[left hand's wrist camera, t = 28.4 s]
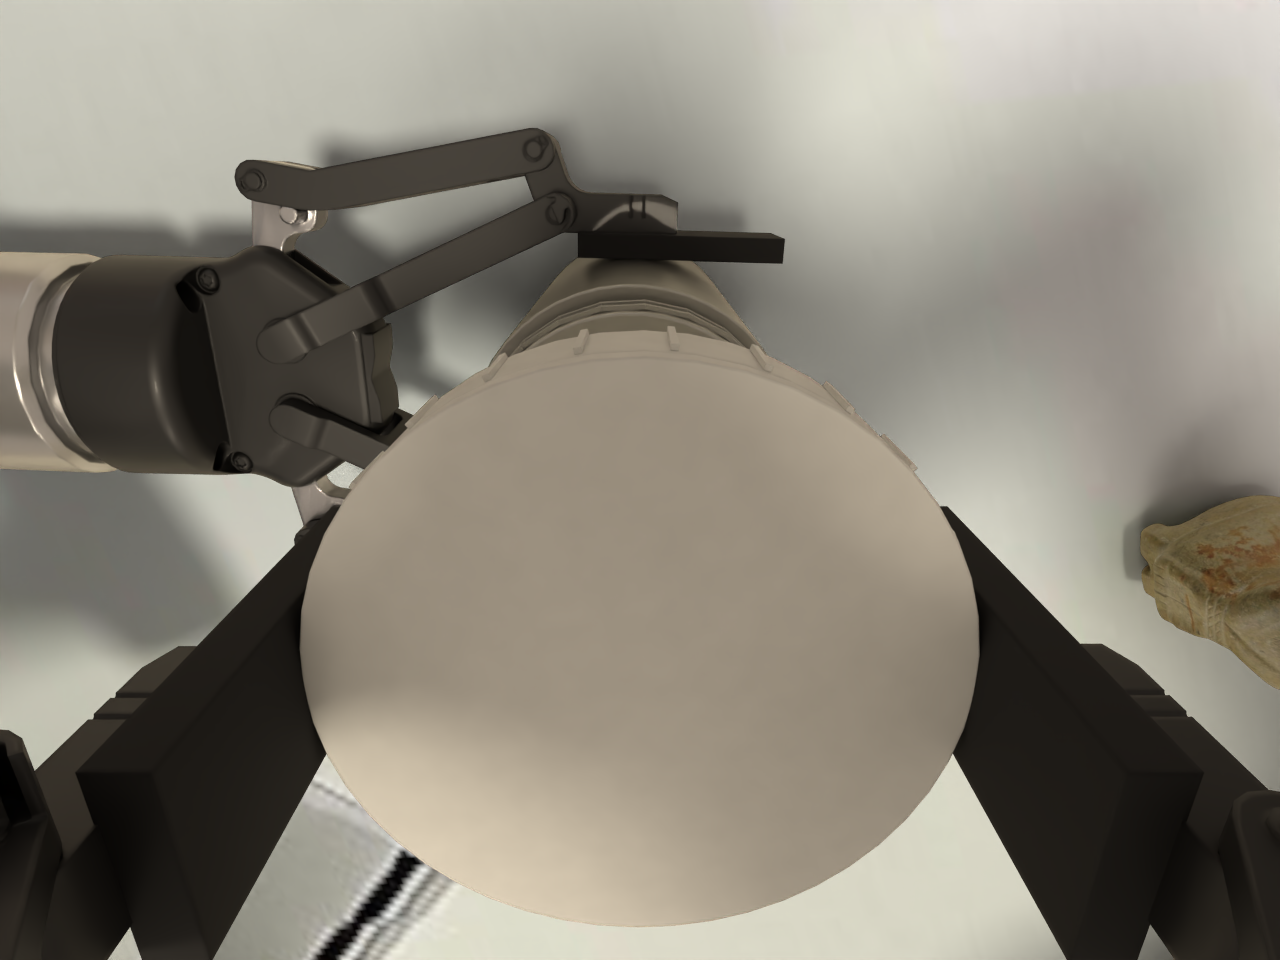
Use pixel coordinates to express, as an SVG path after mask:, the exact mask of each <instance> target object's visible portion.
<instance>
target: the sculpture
mask: <svg viewBox="0 0 1280 960" xmlns="http://www.w3.org/2000/svg"><path fill="white" fill-rule="evenodd" d="M1140 551H1141V555H1142V556H1143V557H1144V558H1145V559H1146V561H1147V562H1148V565H1147V566H1146V567H1145V568H1144V569H1143V570H1142V582H1143V586H1144V590H1145V592H1146V593H1147V594H1149V595H1151V596H1152V597H1154V598H1155V600H1156V605H1157V609H1158V612H1159V614H1160V616H1161V617H1162V618H1163V619H1164V620H1166V621H1168V622H1171V623H1173V624H1174V625H1175V626H1176V627H1177V628H1179V629H1181V630H1183V631H1186V632H1188V633H1190V634H1193V635H1195V636H1198V637H1203V638H1208V639H1210V640H1212V641H1214V642H1216V643H1218V644H1220V645H1222V646H1224V647H1226V648H1228V649H1229V650H1231V651H1232V652H1233V653H1234V654H1235V655H1236V656H1237V657H1238V658H1239V659H1240V660H1241V661H1242V662H1244V663H1245V664H1246V665H1247V666H1248V667H1249V668H1250V669H1251V670H1252V671H1253V672H1255V673H1256V674H1257V675H1258V676H1259V677H1260V678H1262V679H1263V680H1264V681H1265V682H1266V683H1268V684H1269V685H1271V686H1272V687H1275V688H1277V689H1279V690H1280V497H1274V496H1263V495H1256V496H1248V497H1243V498H1238V499H1235V500H1232V501H1228V502H1225V503H1223V504H1220V505H1218V506H1216V507H1213V508H1211V509H1209V510H1207V511H1205V512H1203V513H1202V514H1200V515H1198V516H1196V517H1195V518H1193V519H1191V520H1189V521H1187V522H1185V523H1183V524H1180V525H1175V526H1165V525H1163V524H1160V523H1158V524H1152V525H1150V526H1148V527H1146V528H1145V529H1143V530H1142V532H1141V539H1140Z"/></svg>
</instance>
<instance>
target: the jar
mask: <svg viewBox="0 0 1280 960" xmlns="http://www.w3.org/2000/svg"><path fill="white" fill-rule="evenodd" d="M667 326H674V327H675V330H676V333H686V334H692V335H697V336H701V337H706V338H711V339H715V340H720V341H725V342H730V343H733V344H736V345H739V346H742V347H744V348H747V349H750V347H751V345H752V344H754V345H757V346H759V347H760V349H761V350H762V351H763V353H764V354H765V355H767V354H766V353H765V351H764V350H763V348H762V347H761V345H760V344H759V343H758V341H757V340H756V339H755V337H754V336H753V335H752V333H751V332H750V331H749V330H748V328H747V327H746V326H745V324H744V323H743V322H742V320H741V319H740V318H739V316H738V315H737V314H736V312H735V311H734V310H733V309H732V307H731V306H730V305H729V303H728V302H727V301H726V299H725V298H724V297H723V295H722V294H721V293H720V291H719V290H718V289H717V288H716V286H715V285H714V284H713V282H712V281H711V280H710V278H709V277H708V276H707V275H706V274H705V273H704V272H703V271H702V269H701V268H700V267H699V266H697V265H696V264H695V263H694V262H693V261H671V260H636V259H601V258H576V259H575V260H574V261H573V262H571V263H570V264H569V265H568V266H566V267H565V269H564V270H563V271H562V272H561V273H560V274H559V275H558V276H557V277H556V278H555V280H554V281H553V282H552V283H551V285H550V286H549V287H548V288H547V290H546V291H545V292H544V293H543V295H542V296H541V297H540V298H539V300H538V301H537V302H536V303H535V305H534V306H533V307H532V308H531V310H530V311H529V312H528V313H527V315H526V316H525V317H524V318H523V320H522V321H521V322H520V323H519V325H518V326H517V327H516V329H515V330H514V331H513V332H512V334H511V335H510V336H509V337H508V339H507V340H506V341H505V342H504V344H503V345H502V346H501V348H500V349H499V351H498V352H497V353H496V355H495V356H494V358H493V359H492V361H491V363H490V365H491V364H492V363H493V362H494V361H495V360H496V358H497V357H498V356H499V355H501V354H503V353H506V355H507V357H510V356H512V355H514V354H518V353H521V352H524V351H527V350H530V349H533V348H536V347H539V346H542V345H545V344H548V343H551V342H554V341H558V340H563V339H568V338H574V337H578V335H579V333H580V330H583V329H588V332H589V335H590V334H595V333H602V332H621V331H639V330H647V331H660V332H667ZM490 365H489V367H490Z"/></svg>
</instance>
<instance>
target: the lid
mask: <svg viewBox="0 0 1280 960" xmlns="http://www.w3.org/2000/svg"><path fill="white" fill-rule="evenodd" d="M854 410H855V408H854V407H853V406H852V405H851V404H850V403H849V402H848V401H847V400H846V399H845V398H844V397H843V396H842V395H841V394H840V393H839V392H838V391H837V390H836V389H835V388H834V387H833V386H832V385H831V384H830V383H828V382H827V381H826V382H825V383H824V384H823V386H822V385H820V384H819V383H817V382H816V381H815V380H813V379H812V378H810V377H809V376H807V375H805V374H803V373H801V372H799V371H797V370H795V369H793V368H791V367H790V366H788V365H786V364H784V363H782V362H780V361H778V360H776V359H774V358H772V357H769V356H767V355H765V354H764V353H763V351H762V350H761V349H760V347H759V346H757V345H754V344H752V345H751V347H750V349H747V348H744V347H742V346H739V345H736V344H733V343H730V342H725V341H720V340H715V339H711V338H706V337H701V336H697V335H692V334H686V333H676V330H675V327H674V326H667V332H660V331H647V330H639V331H621V332H602V333H595V334H590V335H589V332H588V329H583V330H580V333H579V335H578V337H574V338H568V339H563V340H558V341H554V342H551V343H548V344H545V345H542V346H539V347H536V348H533V349H530V350H527V351H524V352H521V353H518V354H514V355H512V356H510V357H507V355H506V353H503V354H501V355H499V356H498V357H497V358H496V360H495V361H494V362H493V363H492V364H491V365H490V367H488V368H486V369H484V370H482V371H480V372H478V373H476V374H474V375H473V376H471V377H470V378H468V379H467V380H465V381H464V382H462V383H461V384H459V385H458V386H457V387H455V388H454V389H452V390H451V391H449V392H448V393H446V394H445V395H443V396H442V397H441V398H440V399H439V398H438V397H437V396H436V395H434V396H433V397H432V398H430V399H429V400H428V401H427V402H426V403H425V404H424V405H423V406H422V407H421V408H420V409H419V410H418V411H417V412H416V413H415V414H414V415H413V416H412V417H411V418H410V419H409V420H408V421H407V422H406V424H405V426H406V427H407V429H406V430H405V431H404V432H403V433H402V434H401V435H400V436H399V438H398V439H397V440H396V441H395V442H394V443H393V444H392V445H391V446H390V447H389V448H388V449H387V450H386V451H385V452H384V451H382V452H381V453H380V454H379V455H378V456H377V457H376V458H375V459H374V460H373V461H372V462H371V463H370V464H369V465H368V466H367V467H366V468H365V469H364V470H363V471H362V472H361V473H360V474H359V475H358V476H357V477H356V478H355V479H354V480H353V481H352V483H351V484H350V486H349V488H350V489H352V490H351V492H350V493H349V494H348V495H347V496H346V498H345V499H344V501H343V503H342V505H341V506H340V508H339V510H338V511H337V513H336V515H335V517H334V518H333V520H332V522H331V523H330V525H329V527H328V529H327V530H326V532H325V534H324V536H323V539H322V541H321V544H320V546H319V549H318V552H317V554H316V557H315V559H314V562H313V564H312V567H311V570H310V572H309V577H308V582H307V587H306V591H305V596H304V601H303V605H302V610H301V630H300V658H301V667H302V676H303V681H304V687H305V691H306V696H307V701H308V705H309V709H310V713H311V716H312V720H313V723H314V726H315V728H316V730H317V732H318V735H319V737H320V739H321V742H322V744H323V746H324V749H325V751H326V753H327V756H328V757H329V759H330V761H331V762H332V764H333V766H334V767H335V769H336V771H337V772H338V774H339V775H340V777H341V779H342V780H343V782H344V784H345V785H346V787H347V788H348V789H349V791H350V792H351V793H352V794H353V796H354V797H355V798H356V799H357V801H358V802H359V803H360V804H361V806H362V807H363V808H364V809H365V811H366V812H367V813H368V814H369V816H370V817H372V818H373V819H374V820H375V821H376V822H377V823H378V824H379V825H380V826H381V827H382V828H383V829H384V830H385V831H386V832H387V833H388V834H389V835H390V836H391V837H392V838H393V839H394V840H395V841H396V842H398V843H399V844H400V845H402V846H403V847H404V848H406V849H407V850H408V851H409V852H411V853H412V854H413V855H415V856H416V857H417V858H419V859H420V860H421V861H422V862H424V863H425V864H427V865H428V866H430V867H432V868H433V869H435V870H437V871H438V872H440V873H442V874H443V875H445V876H447V877H448V878H450V879H452V880H453V881H455V882H457V883H459V884H461V885H463V886H465V887H467V888H469V889H471V890H474V891H476V892H478V893H480V894H482V895H484V896H486V897H488V898H491V899H494V900H496V901H499V902H502V903H505V904H508V905H511V906H513V907H516V908H519V909H522V910H525V911H529V912H533V913H537V914H541V915H545V916H549V917H553V918H557V919H561V920H567V921H574V922H581V923H587V924H594V925H604V926H623V927H655V926H676V925H684V924H691V923H699V922H706V921H713V920H717V919H721V918H726V917H730V916H734V915H739V914H743V913H748V912H751V911H754V910H757V909H760V908H763V907H766V906H769V905H772V904H775V903H778V902H781V901H783V900H786V899H788V898H790V897H792V896H795V895H797V894H799V893H801V892H803V891H806V890H808V889H810V888H812V887H815V886H817V885H819V884H820V883H822V882H824V881H826V880H827V879H829V878H831V877H832V876H834V875H836V874H838V873H839V872H841V871H843V870H844V869H846V868H848V867H850V866H851V865H852V864H854V863H855V862H856V861H858V860H859V859H860V858H862V857H863V856H864V855H866V854H867V853H869V852H870V851H871V850H873V849H874V848H875V847H877V846H878V845H879V844H880V843H881V842H883V841H884V840H885V839H886V838H887V837H888V836H889V835H890V834H891V833H892V832H893V831H894V830H895V829H896V828H898V827H899V826H900V825H901V824H902V823H903V822H904V821H905V820H906V819H907V818H908V817H909V815H910V814H911V813H912V812H913V811H914V809H915V808H916V807H917V806H918V805H919V803H920V802H921V801H922V800H923V799H924V798H925V796H926V795H927V794H928V793H929V791H930V790H931V788H932V787H933V785H934V784H935V782H936V781H937V779H938V777H939V776H940V774H941V773H942V771H943V770H944V768H945V766H946V765H947V763H948V762H949V760H950V758H951V756H952V753H953V751H954V749H955V747H956V745H957V743H958V740H959V738H960V736H961V734H962V732H963V730H964V727H965V724H966V720H967V717H968V713H969V710H970V706H971V702H972V697H973V693H974V687H975V682H976V677H977V671H978V664H979V657H980V650H979V615H978V610H977V604H976V599H975V593H974V588H973V582H972V578H971V575H970V572H969V569H968V566H967V564H966V561H965V558H964V555H963V552H962V549H961V547H960V544H959V541H958V539H957V537H956V534H955V532H954V531H953V530H952V528H951V526H950V524H949V523H948V521H947V519H946V517H945V515H944V513H943V512H942V510H941V508H940V506H939V504H938V503H937V502H936V500H935V499H934V498H933V496H932V495H931V494H930V492H929V491H928V490H927V489H926V487H925V486H924V485H923V483H922V482H921V481H920V479H919V478H918V477H917V476H916V474H915V473H914V471H915V470H916V469H917V467H916V466H915V464H914V463H913V462H912V461H911V460H910V459H909V458H908V457H907V456H906V455H905V454H904V453H903V452H902V451H901V450H900V449H899V448H898V447H897V446H896V445H895V444H894V443H893V442H892V441H891V440H890V439H889V438H888V437H887V436H886V435H885V434H883V435H882V436H879V435H878V434H877V433H876V432H875V431H874V430H873V429H872V428H871V427H870V426H869V425H868V424H867V423H866V422H865V421H864V420H863V419H862V418H861V417H860V416H859V415H857V414H856V413H855V412H854Z"/></svg>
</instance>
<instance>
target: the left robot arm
mask: <svg viewBox="0 0 1280 960" xmlns="http://www.w3.org/2000/svg"><path fill="white" fill-rule="evenodd" d="M339 508H340V506H332V507H331V508H330V509H329V510H328V511H327V512H326V513H325V514H324V515H323V517H322V518H321V519H320V520H319V521H318V522H317V523H316V524H315V525H314V526H313V527H312V528H311V529H310V530H309V531H308V532H307V533H306V534H305V535H304V536H303V537H302V538H301V539H300V540H299V541H298V542H297V543H296V544H295V545H294V547H293V548H292V549H291V550H290V551H289V552H288V553H287V554H286V555H285V556H284V557H283V558H282V559H281V560H280V561H279V562H278V563H277V564H276V565H275V566H274V567H273V568H272V569H271V570H270V571H269V572H268V573H267V574H266V575H265V577H264V578H263V579H262V580H261V581H260V582H259V583H258V584H257V585H256V586H255V587H254V588H253V589H252V590H251V591H250V592H249V593H248V594H247V595H246V596H245V597H244V598H243V599H242V600H241V601H240V602H239V603H238V604H237V605H236V607H235V608H234V609H233V610H232V611H231V612H230V613H229V614H228V615H227V616H226V617H225V618H224V619H223V620H222V621H221V622H220V623H219V624H218V625H217V626H216V627H215V628H214V629H213V630H212V631H211V632H210V633H209V634H208V635H207V637H206V638H205V639H204V640H203V641H202V642H201V643H200V644H199V645H198V646H178V647H176V648H175V649H173V650H171V651H170V652H168V653H166V654H165V655H163V656H161V657H159V658H158V659H156V660H154V661H153V662H151V663H149V664H148V665H146V666H144V667H142V668H141V669H140V670H139V671H138V672H137V673H136V674H135V675H134V676H133V677H132V678H131V679H130V680H129V681H128V682H127V683H126V684H125V685H124V686H123V687H121V688H120V689H119V690H118V691H117V692H116V697H115V698H110V699H109V700H108V701H107V702H106V703H105V704H104V705H103V706H102V707H101V708H100V709H99V710H98V711H97V712H96V713H94V718H93V720H87V721H86V722H85V723H84V724H83V725H82V726H81V727H80V728H79V729H78V730H77V731H76V732H75V733H74V734H73V735H72V736H71V737H70V738H69V739H67V740H66V741H65V742H64V743H63V744H62V745H61V746H60V747H59V748H58V749H57V750H56V751H55V752H54V753H53V754H52V755H51V756H50V757H49V758H48V759H47V760H46V761H45V762H44V763H43V764H42V765H40V766H39V767H38V768H37V769H36V770H35V771H34V768H33V766H32V763H31V760H30V758H29V755H28V753H27V750H26V747H25V745H24V742H23V740H22V738H21V737H19V736H17V735H16V734H14V733H13V732H11V731H9V730H0V960H107V959H108V958H109V957H110V955H111V954H112V952H113V951H114V949H115V948H116V946H117V945H118V944H119V942H120V941H121V939H122V938H123V936H124V935H125V933H126V932H127V931H128V929H129V928H131V930H132V933H133V936H134V939H135V941H136V944H137V947H138V950H139V953H140V955H141V958H142V960H213V958H214V956H215V954H216V952H217V951H218V949H219V947H220V945H221V943H222V942H223V940H224V938H225V936H226V934H227V933H228V931H229V929H230V927H231V925H232V924H233V922H234V920H235V918H236V916H237V915H238V913H239V911H240V909H241V907H242V906H243V904H244V902H245V900H246V898H247V896H248V895H249V893H250V891H251V889H252V887H253V886H254V884H255V882H256V880H257V878H258V877H259V875H260V873H261V871H262V869H263V868H264V866H265V864H266V862H267V860H268V859H269V857H270V855H271V853H272V851H273V850H274V848H275V846H276V844H277V842H278V841H279V839H280V837H281V835H282V833H283V831H284V830H285V828H286V826H287V824H288V822H289V821H290V819H291V817H292V815H293V813H294V812H295V810H296V808H297V806H298V804H299V803H300V801H301V799H302V797H303V795H304V794H305V792H306V790H307V788H308V786H309V785H310V783H311V781H312V779H313V777H314V775H315V774H316V772H317V770H318V768H319V766H320V765H321V763H322V761H323V759H324V757H325V756H326V754H327V753H326V751H325V749H324V746H323V744H322V742H321V739H320V737H319V735H318V732H317V730H316V728H315V726H314V723H313V720H312V716H311V713H310V709H309V705H308V701H307V696H306V691H305V687H304V681H303V676H302V667H301V658H300V630H301V610H302V605H303V601H304V596H305V591H306V587H307V582H308V577H309V572H310V570H311V567H312V564H313V562H314V559H315V557H316V554H317V552H318V549H319V546H320V544H321V541H322V539H323V536H324V534H325V532H326V530H327V529H328V527H329V525H330V523H331V522H332V520H333V518H334V517H335V515H336V513H337V511H338V510H339ZM940 508H941V510H942V512H943V513H944V515H945V517H946V519H947V521H948V523H949V524H950V526H951V528H952V530H953V531H954V532H955V534H956V537H957V539H958V541H959V544H960V547H961V549H962V552H963V555H964V558H965V561H966V564H967V566H968V569H969V572H970V575H971V578H972V582H973V588H974V593H975V599H976V604H977V610H978V615H979V650H980V657H979V664H978V671H977V677H976V682H975V687H974V693H973V697H972V702H971V706H970V710H969V713H968V717H967V720H966V724H965V727H964V730H963V732H962V734H961V736H960V738H959V740H958V743H957V745H956V747H955V749H954V751H953V755H954V756H955V758H956V760H957V762H958V764H959V766H960V767H961V769H962V771H963V773H964V775H965V776H966V778H967V780H968V782H969V784H970V785H971V787H972V789H973V791H974V793H975V794H976V796H977V798H978V800H979V802H980V803H981V805H982V807H983V809H984V811H985V812H986V814H987V816H988V818H989V820H990V822H991V823H992V825H993V827H994V829H995V831H996V832H997V834H998V836H999V838H1000V840H1001V841H1002V843H1003V845H1004V847H1005V849H1006V850H1007V852H1008V854H1009V856H1010V858H1011V859H1012V861H1013V863H1014V865H1015V867H1016V868H1017V870H1018V872H1019V874H1020V876H1021V878H1022V879H1023V881H1024V883H1025V885H1026V887H1027V888H1028V890H1029V892H1030V894H1031V896H1032V897H1033V899H1034V901H1035V903H1036V905H1037V906H1038V908H1039V910H1040V912H1041V914H1042V915H1043V917H1044V919H1045V921H1046V923H1047V924H1048V926H1049V928H1050V930H1051V932H1052V934H1053V935H1054V937H1055V939H1056V941H1057V943H1058V944H1059V946H1060V948H1061V950H1062V952H1063V953H1064V955H1065V957H1066V959H1067V960H1137V959H1138V957H1139V954H1140V951H1141V948H1142V945H1143V943H1144V940H1145V937H1146V934H1147V931H1148V929H1149V926H1150V924H1151V926H1152V927H1153V929H1154V930H1155V932H1156V933H1157V934H1158V936H1159V937H1160V939H1161V940H1162V942H1163V943H1164V945H1165V946H1166V947H1167V949H1168V950H1169V952H1170V953H1171V955H1172V956H1173V957H1174V959H1173V960H1280V792H1278V791H1272V790H1268V789H1267V788H1266V787H1265V786H1264V785H1263V784H1262V783H1261V782H1260V781H1259V780H1258V779H1257V778H1256V777H1255V776H1253V775H1252V774H1251V773H1250V772H1249V771H1248V770H1247V769H1246V768H1245V767H1244V766H1243V765H1242V764H1241V763H1240V762H1239V761H1238V760H1237V759H1236V758H1235V757H1234V756H1233V755H1232V754H1230V753H1229V752H1228V751H1227V750H1226V749H1225V748H1224V747H1223V746H1222V745H1221V744H1220V743H1219V742H1218V741H1217V740H1216V739H1215V738H1214V737H1213V736H1212V735H1211V734H1210V733H1209V732H1207V731H1206V730H1205V729H1204V728H1203V727H1202V726H1201V725H1200V724H1199V723H1198V722H1197V721H1196V720H1195V719H1194V718H1193V717H1187V714H1186V710H1184V709H1183V708H1182V707H1181V706H1180V705H1179V704H1178V703H1177V702H1176V701H1175V700H1174V699H1173V698H1172V697H1171V696H1170V695H1165V693H1164V689H1163V688H1161V687H1160V686H1159V685H1158V684H1157V683H1156V682H1155V681H1154V680H1153V679H1152V678H1151V677H1150V676H1149V675H1148V674H1147V673H1146V672H1145V671H1144V670H1143V669H1142V668H1141V667H1140V666H1138V665H1137V664H1135V663H1134V662H1132V661H1130V660H1128V659H1127V658H1125V657H1123V656H1122V655H1120V654H1118V653H1116V652H1115V651H1113V650H1111V649H1110V648H1108V647H1106V646H1104V645H1103V644H1080V643H1079V642H1078V641H1077V640H1076V639H1075V638H1074V637H1073V636H1072V635H1071V634H1070V633H1069V632H1068V631H1067V630H1066V629H1065V628H1064V627H1063V626H1062V625H1061V624H1060V623H1059V622H1058V620H1057V619H1056V618H1055V617H1054V616H1053V615H1052V614H1051V613H1050V612H1049V611H1048V610H1047V609H1046V608H1045V607H1044V606H1043V605H1042V604H1041V603H1040V602H1039V601H1038V600H1037V599H1036V598H1035V597H1034V596H1033V595H1032V594H1031V593H1030V592H1029V590H1028V589H1027V588H1026V587H1025V586H1024V585H1023V584H1022V583H1021V582H1020V581H1019V580H1018V579H1017V578H1016V577H1015V576H1014V575H1013V574H1012V573H1011V572H1010V571H1009V570H1008V569H1007V568H1006V567H1005V566H1004V565H1003V564H1002V563H1001V562H1000V560H999V559H998V558H997V557H996V556H995V555H994V554H993V553H992V552H991V551H990V550H989V549H988V548H987V547H986V546H985V545H984V544H983V543H982V542H981V541H980V540H979V539H978V538H977V537H976V536H975V535H974V534H973V533H972V532H971V530H970V529H969V528H968V527H967V526H966V525H965V524H964V523H963V522H962V521H961V520H960V519H959V518H958V517H957V516H956V515H955V514H954V513H953V512H952V511H951V510H950V509H949V508H948V507H947V506H940Z"/></svg>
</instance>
